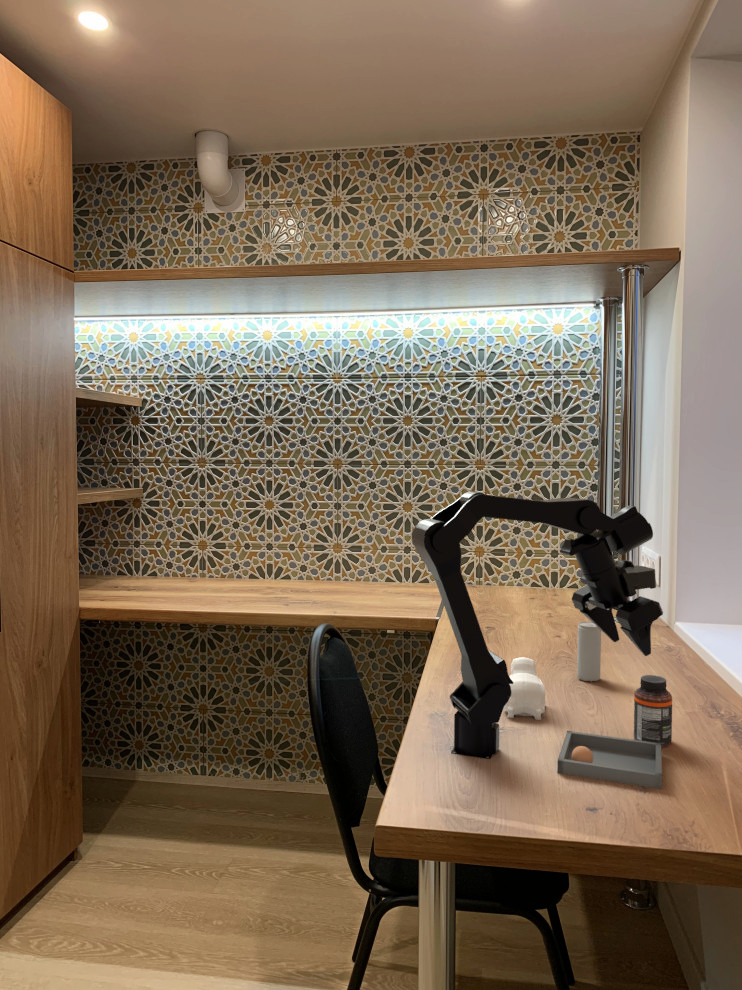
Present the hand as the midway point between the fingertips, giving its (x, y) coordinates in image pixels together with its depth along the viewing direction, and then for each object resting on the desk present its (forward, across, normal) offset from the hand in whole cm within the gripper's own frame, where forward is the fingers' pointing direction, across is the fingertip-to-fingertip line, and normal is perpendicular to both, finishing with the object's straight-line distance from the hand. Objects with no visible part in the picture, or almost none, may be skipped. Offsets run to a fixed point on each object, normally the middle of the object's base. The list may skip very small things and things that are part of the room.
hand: (631, 647), depth 125 cm
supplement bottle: (+15, -4, +5) cm, 16 cm away
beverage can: (+18, +30, -2) cm, 36 cm away
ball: (+7, -11, +20) cm, 24 cm away
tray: (+10, -10, +16) cm, 21 cm away
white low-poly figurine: (+9, +16, +18) cm, 26 cm away
